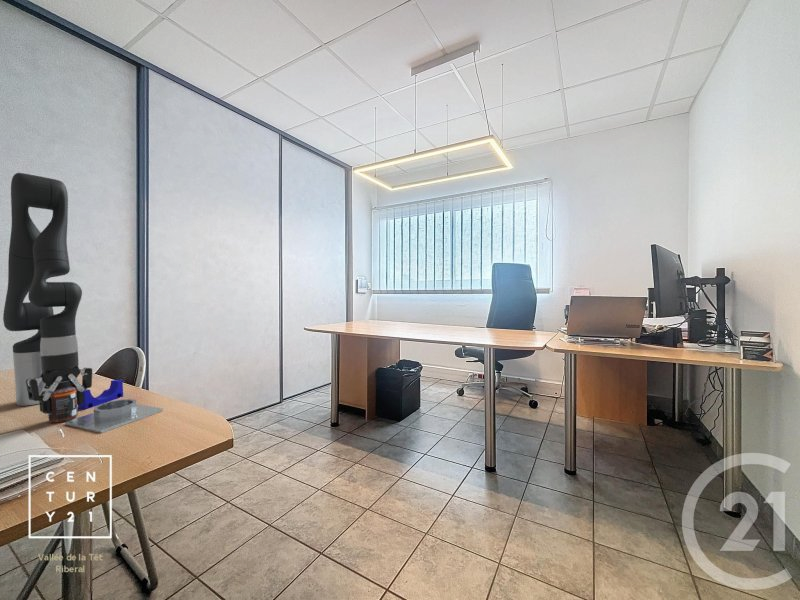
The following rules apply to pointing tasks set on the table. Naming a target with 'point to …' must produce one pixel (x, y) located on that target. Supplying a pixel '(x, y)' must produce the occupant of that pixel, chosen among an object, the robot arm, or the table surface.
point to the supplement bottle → (63, 403)
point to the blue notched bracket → (103, 395)
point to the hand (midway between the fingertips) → (63, 408)
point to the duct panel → (114, 423)
